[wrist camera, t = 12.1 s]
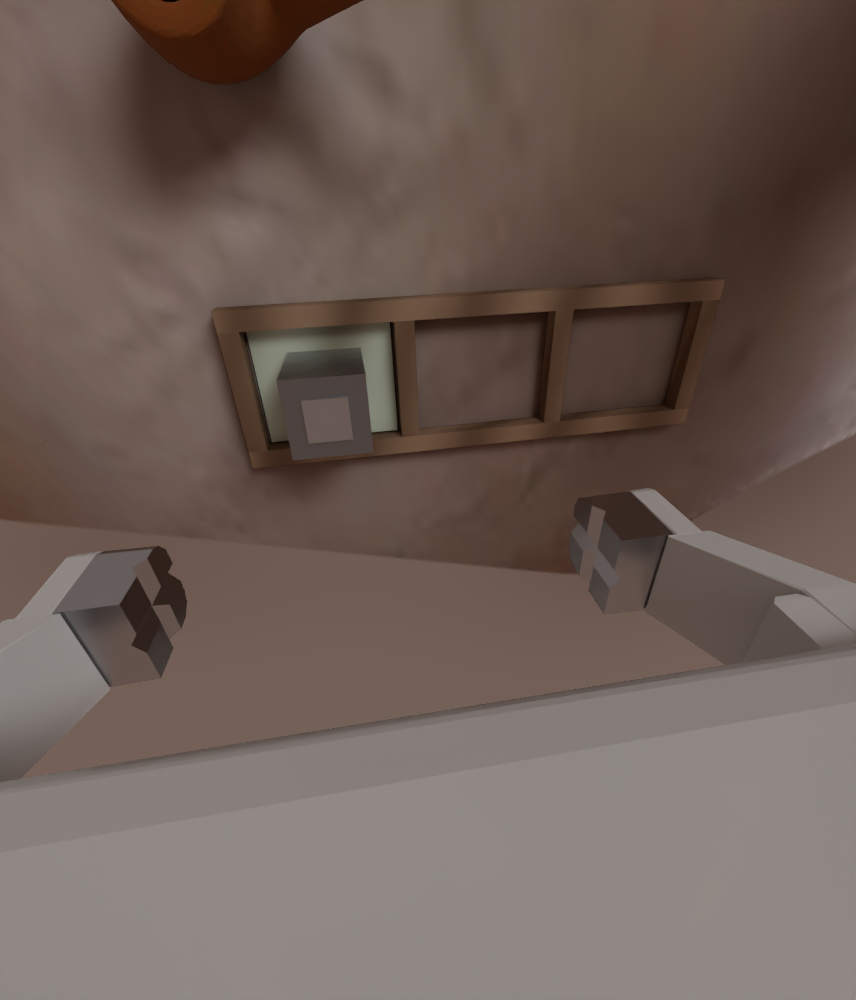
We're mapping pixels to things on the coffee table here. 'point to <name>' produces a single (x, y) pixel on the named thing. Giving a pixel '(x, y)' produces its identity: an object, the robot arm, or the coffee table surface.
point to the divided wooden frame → (370, 330)
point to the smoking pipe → (225, 32)
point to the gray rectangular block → (325, 403)
